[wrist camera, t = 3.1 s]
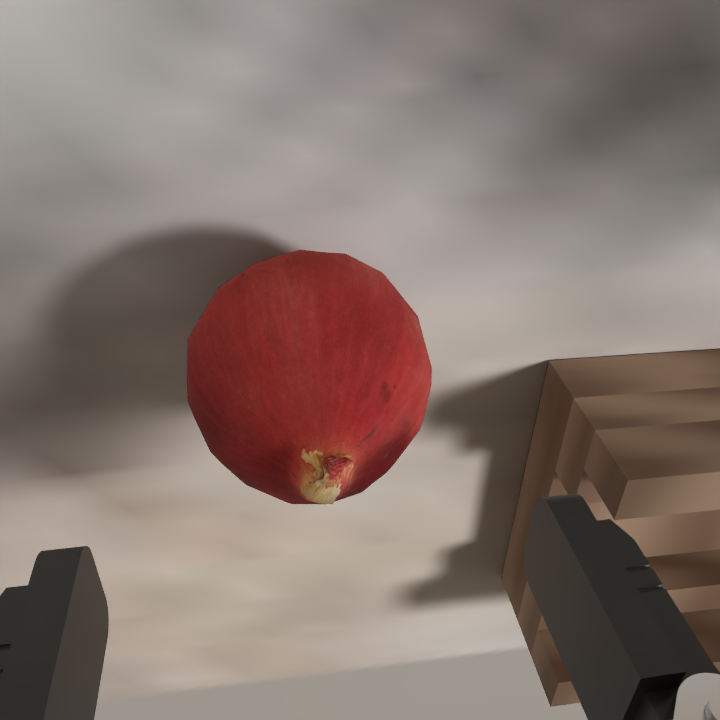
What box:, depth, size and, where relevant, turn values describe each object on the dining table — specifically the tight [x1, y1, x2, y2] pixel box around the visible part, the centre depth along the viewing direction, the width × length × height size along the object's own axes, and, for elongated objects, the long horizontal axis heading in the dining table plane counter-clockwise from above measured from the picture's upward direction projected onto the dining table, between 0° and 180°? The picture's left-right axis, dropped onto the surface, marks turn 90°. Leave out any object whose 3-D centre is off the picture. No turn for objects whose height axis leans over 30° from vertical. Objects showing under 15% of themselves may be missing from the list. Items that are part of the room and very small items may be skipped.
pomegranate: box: [187, 250, 432, 504], centre depth 16 cm, size 6×6×8 cm
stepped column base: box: [501, 349, 720, 706], centre depth 24 cm, size 12×11×6 cm
